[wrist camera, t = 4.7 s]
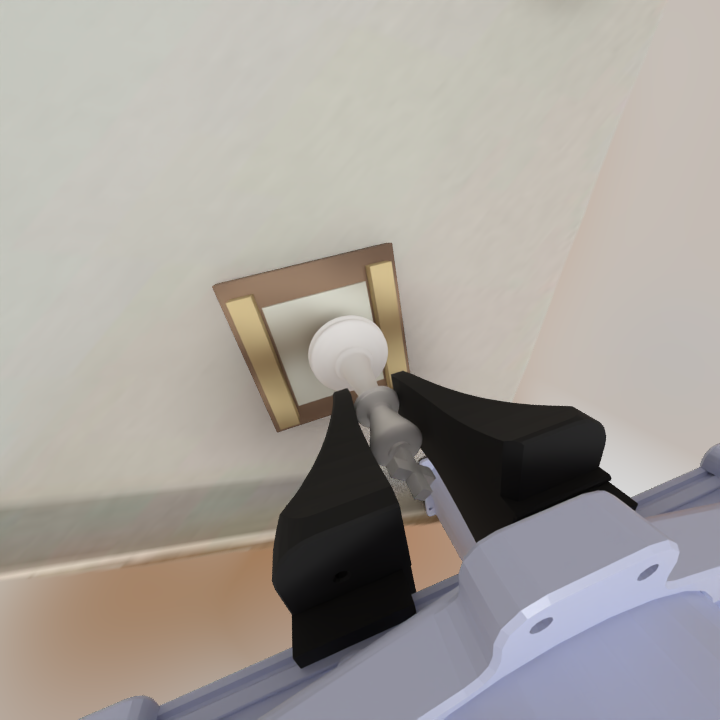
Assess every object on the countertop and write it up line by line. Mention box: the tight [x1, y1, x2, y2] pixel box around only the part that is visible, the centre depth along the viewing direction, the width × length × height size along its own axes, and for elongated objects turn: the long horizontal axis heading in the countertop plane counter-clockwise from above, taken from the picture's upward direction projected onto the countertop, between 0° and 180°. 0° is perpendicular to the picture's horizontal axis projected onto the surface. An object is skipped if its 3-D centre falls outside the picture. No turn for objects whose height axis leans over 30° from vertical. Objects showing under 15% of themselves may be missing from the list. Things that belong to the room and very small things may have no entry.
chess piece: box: [308, 315, 436, 501], centre depth 12 cm, size 5×5×10 cm
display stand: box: [212, 243, 410, 432], centre depth 20 cm, size 12×12×2 cm
